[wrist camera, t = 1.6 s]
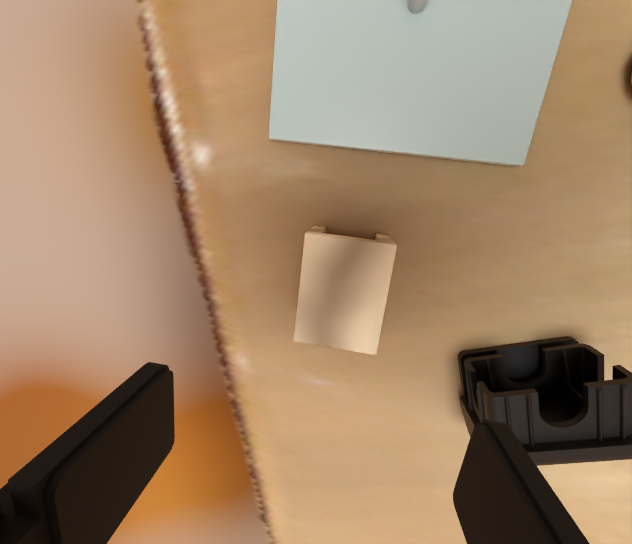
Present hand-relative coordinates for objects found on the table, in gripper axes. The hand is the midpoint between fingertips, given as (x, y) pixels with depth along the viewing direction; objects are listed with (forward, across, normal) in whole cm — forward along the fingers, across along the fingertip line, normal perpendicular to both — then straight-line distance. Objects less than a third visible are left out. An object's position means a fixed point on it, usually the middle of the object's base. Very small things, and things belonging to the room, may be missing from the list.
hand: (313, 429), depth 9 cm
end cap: (+17, -17, +7) cm, 25 cm away
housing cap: (+17, -1, 0) cm, 17 cm away
